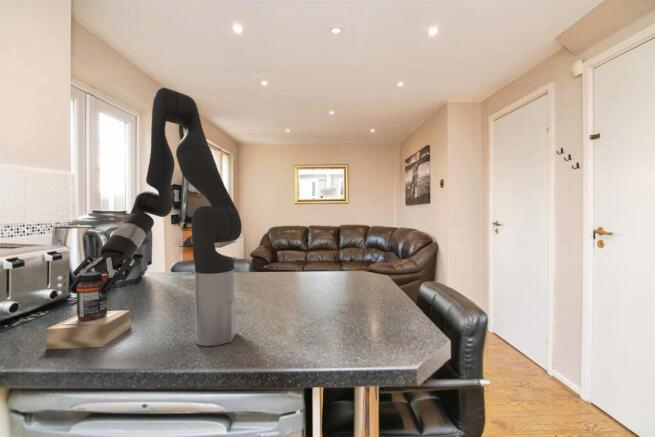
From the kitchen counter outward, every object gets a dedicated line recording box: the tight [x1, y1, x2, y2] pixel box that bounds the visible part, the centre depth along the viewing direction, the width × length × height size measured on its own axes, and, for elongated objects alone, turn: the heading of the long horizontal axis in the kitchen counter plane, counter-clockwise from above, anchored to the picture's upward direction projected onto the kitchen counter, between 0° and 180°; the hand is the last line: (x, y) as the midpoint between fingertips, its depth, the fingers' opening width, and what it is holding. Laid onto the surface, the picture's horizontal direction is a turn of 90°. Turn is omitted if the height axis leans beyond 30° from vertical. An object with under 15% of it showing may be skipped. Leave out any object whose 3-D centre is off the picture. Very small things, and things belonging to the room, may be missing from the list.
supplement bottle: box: [76, 271, 108, 321], centre depth 74 cm, size 6×6×11 cm
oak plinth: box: [45, 309, 132, 350], centre depth 74 cm, size 12×12×5 cm
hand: (86, 292), depth 73 cm, fingers open, 8 cm apart
